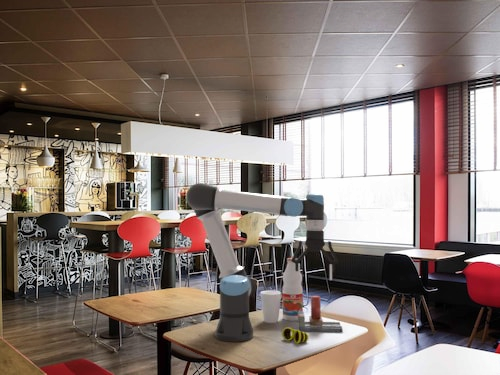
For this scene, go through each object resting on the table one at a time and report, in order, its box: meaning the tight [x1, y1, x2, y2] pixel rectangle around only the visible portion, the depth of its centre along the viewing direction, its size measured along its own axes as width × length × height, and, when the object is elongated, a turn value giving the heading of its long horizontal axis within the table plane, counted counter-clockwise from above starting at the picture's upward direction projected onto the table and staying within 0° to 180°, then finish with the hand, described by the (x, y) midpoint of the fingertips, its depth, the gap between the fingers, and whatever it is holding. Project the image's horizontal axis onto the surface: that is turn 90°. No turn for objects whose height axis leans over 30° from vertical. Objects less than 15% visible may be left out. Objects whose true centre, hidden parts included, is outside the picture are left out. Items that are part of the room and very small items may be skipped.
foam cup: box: [260, 290, 282, 324], centre depth 195 cm, size 10×9×13 cm
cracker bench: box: [297, 311, 343, 333], centre depth 182 cm, size 18×10×6 cm, turn 86°
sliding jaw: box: [308, 295, 324, 325], centre depth 183 cm, size 5×8×11 cm, turn 176°
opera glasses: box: [281, 326, 309, 345], centre depth 165 cm, size 10×5×5 cm, turn 40°
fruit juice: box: [281, 257, 304, 322], centre depth 200 cm, size 9×9×28 cm
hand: (314, 279), depth 183 cm, fingers open, 13 cm apart
